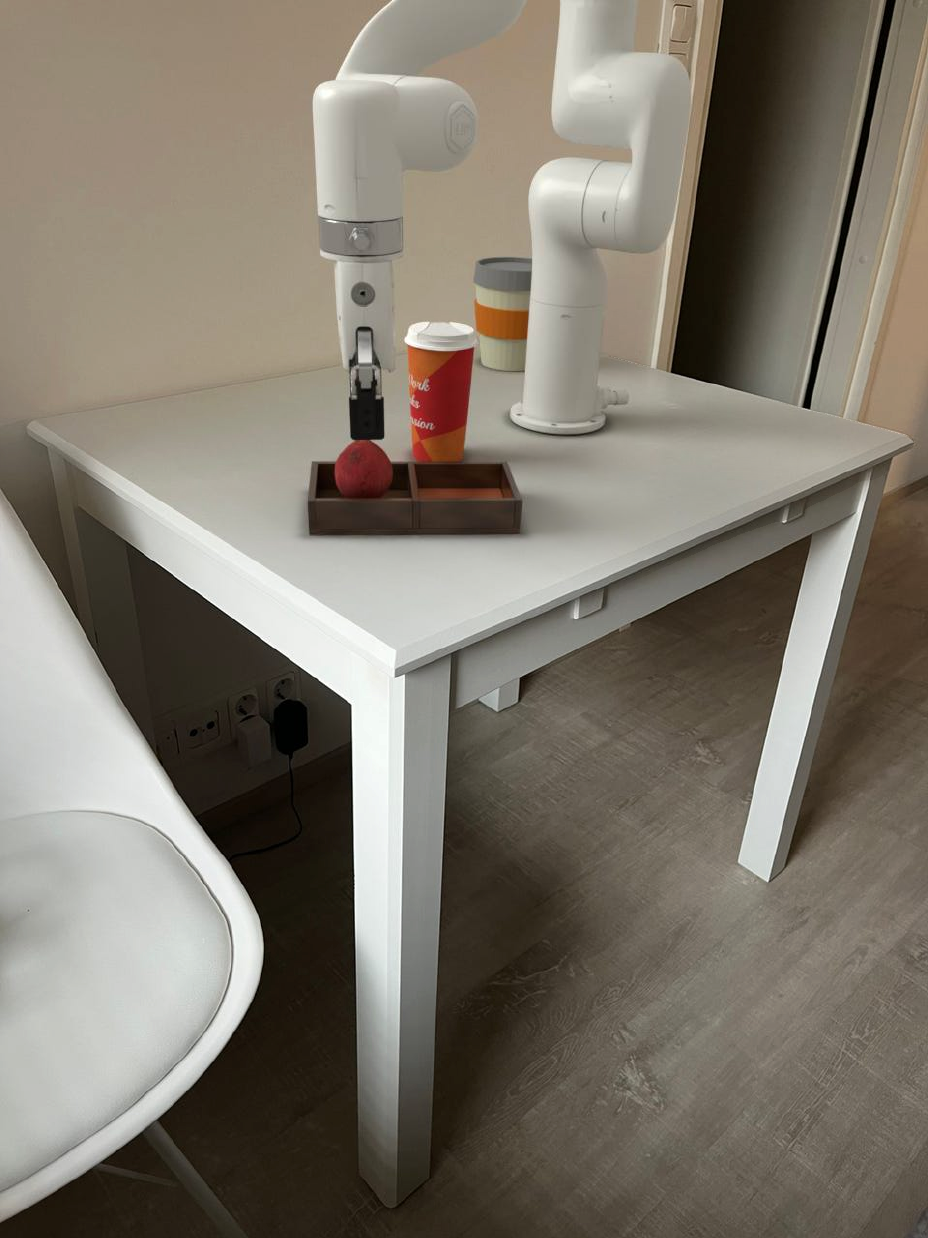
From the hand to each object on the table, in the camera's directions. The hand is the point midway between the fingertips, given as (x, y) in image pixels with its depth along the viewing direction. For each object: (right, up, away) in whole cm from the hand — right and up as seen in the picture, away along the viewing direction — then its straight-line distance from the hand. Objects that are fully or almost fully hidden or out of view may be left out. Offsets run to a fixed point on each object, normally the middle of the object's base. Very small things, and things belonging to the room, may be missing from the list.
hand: (366, 421), depth 95 cm
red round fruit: (-1, -8, +4) cm, 9 cm away
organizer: (+4, -8, +5) cm, 11 cm away
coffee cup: (+6, 0, +20) cm, 21 cm away
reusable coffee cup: (+17, +21, +58) cm, 63 cm away
